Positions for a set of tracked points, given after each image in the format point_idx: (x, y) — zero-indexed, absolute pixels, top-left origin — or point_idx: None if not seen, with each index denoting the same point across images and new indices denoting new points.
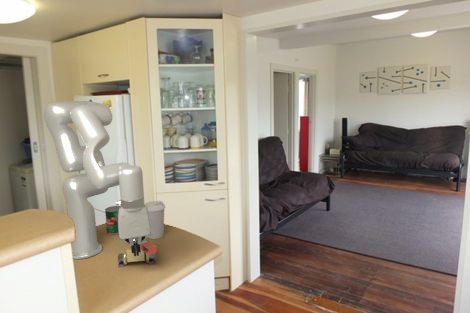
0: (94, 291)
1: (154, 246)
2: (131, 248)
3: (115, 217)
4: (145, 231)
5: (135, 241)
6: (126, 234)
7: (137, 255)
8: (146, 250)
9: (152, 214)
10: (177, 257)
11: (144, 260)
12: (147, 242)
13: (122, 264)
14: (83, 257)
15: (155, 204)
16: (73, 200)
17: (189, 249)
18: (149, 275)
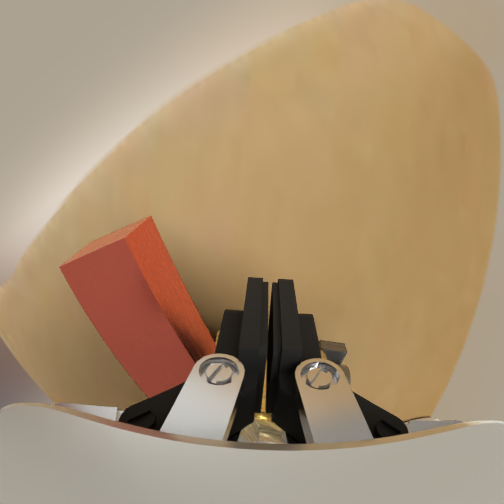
0: (468, 174)
1: (74, 286)
2: (317, 344)
3: None
4: (17, 472)
5: (253, 441)
6: (471, 494)
7: (261, 278)
8: (160, 274)
9: None
10: (82, 319)
11: (218, 330)
12: (151, 391)
13: (328, 350)
14: (420, 420)
15: None
16: None
17: (54, 351)
18: (206, 205)
